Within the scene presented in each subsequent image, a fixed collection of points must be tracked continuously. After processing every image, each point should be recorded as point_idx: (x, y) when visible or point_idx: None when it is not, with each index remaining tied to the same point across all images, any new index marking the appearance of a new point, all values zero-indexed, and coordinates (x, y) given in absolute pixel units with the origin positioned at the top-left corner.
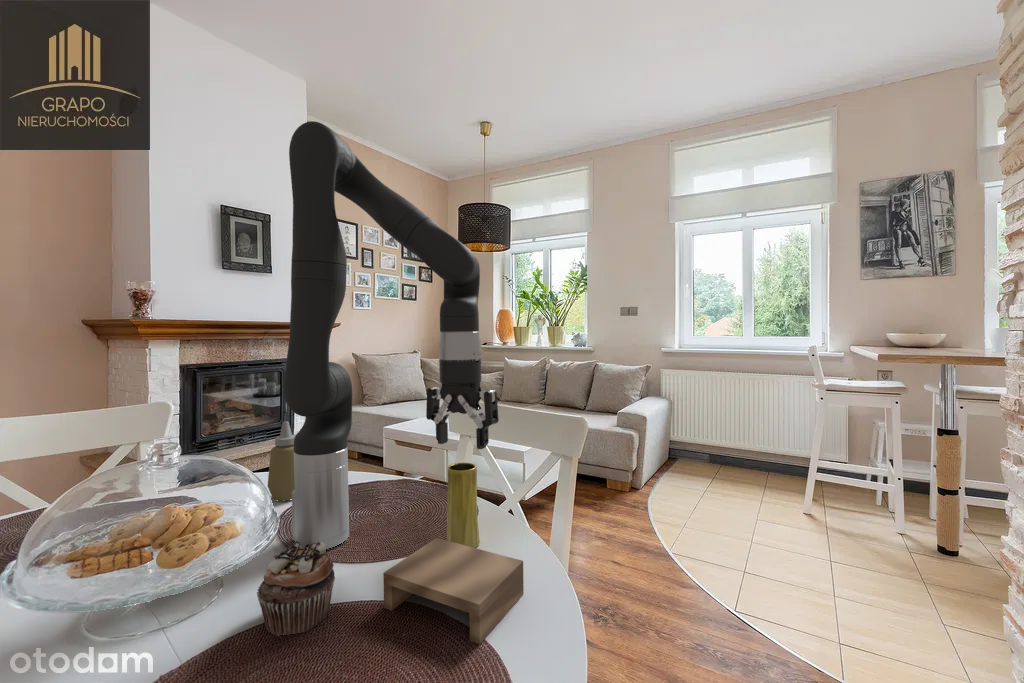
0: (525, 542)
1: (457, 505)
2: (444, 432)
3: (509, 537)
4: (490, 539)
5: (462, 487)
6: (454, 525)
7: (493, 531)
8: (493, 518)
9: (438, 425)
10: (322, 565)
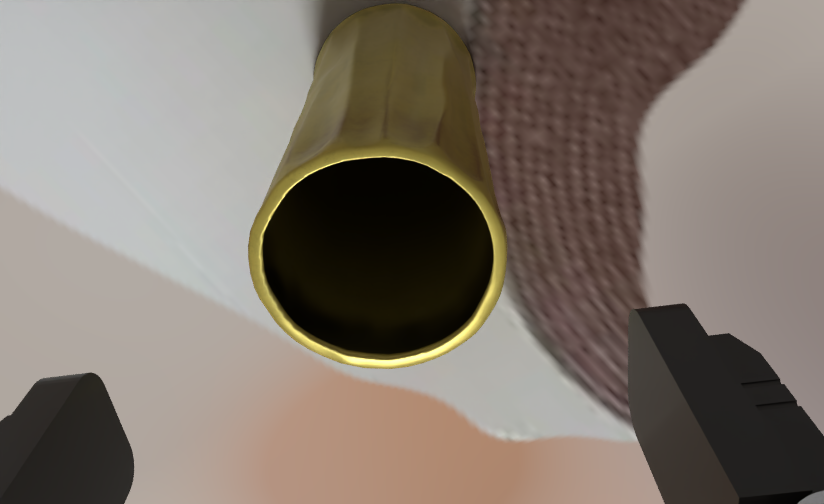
0: (185, 250)
1: (345, 71)
2: (675, 463)
3: None
4: None
5: (300, 128)
6: (375, 37)
7: None
8: None
9: (777, 479)
10: None
